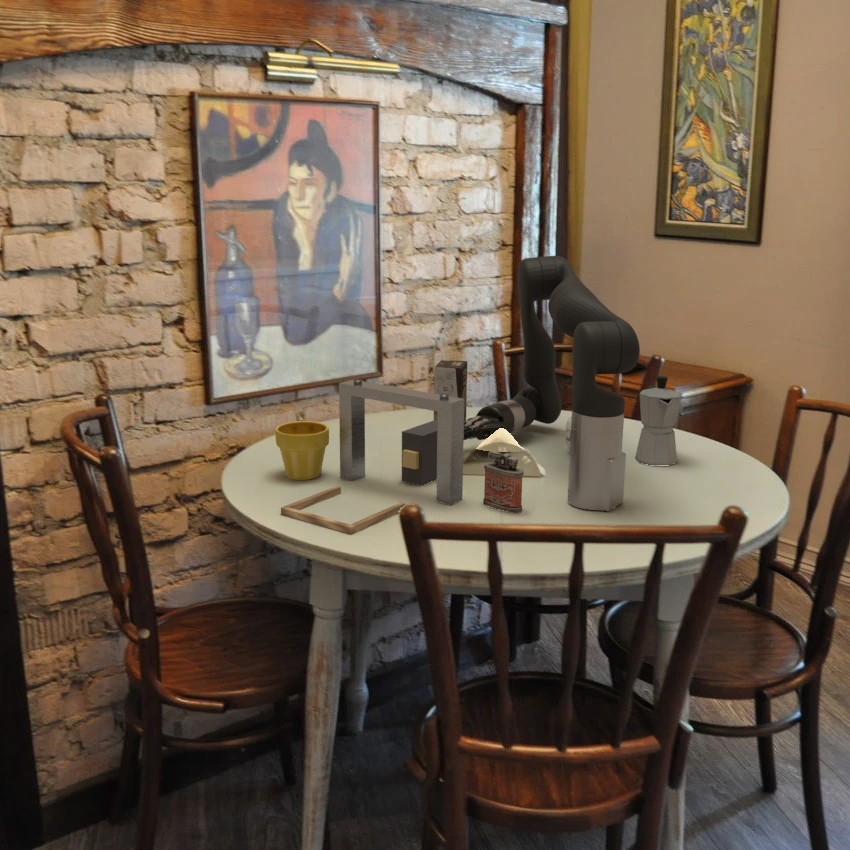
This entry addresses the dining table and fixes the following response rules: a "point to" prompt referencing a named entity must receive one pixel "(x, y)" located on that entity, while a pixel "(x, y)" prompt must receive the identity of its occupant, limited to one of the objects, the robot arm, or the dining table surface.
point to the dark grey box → (420, 453)
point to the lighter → (503, 483)
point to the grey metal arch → (446, 406)
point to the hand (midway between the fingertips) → (456, 436)
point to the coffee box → (451, 381)
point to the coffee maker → (658, 424)
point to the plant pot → (302, 448)
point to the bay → (295, 512)
